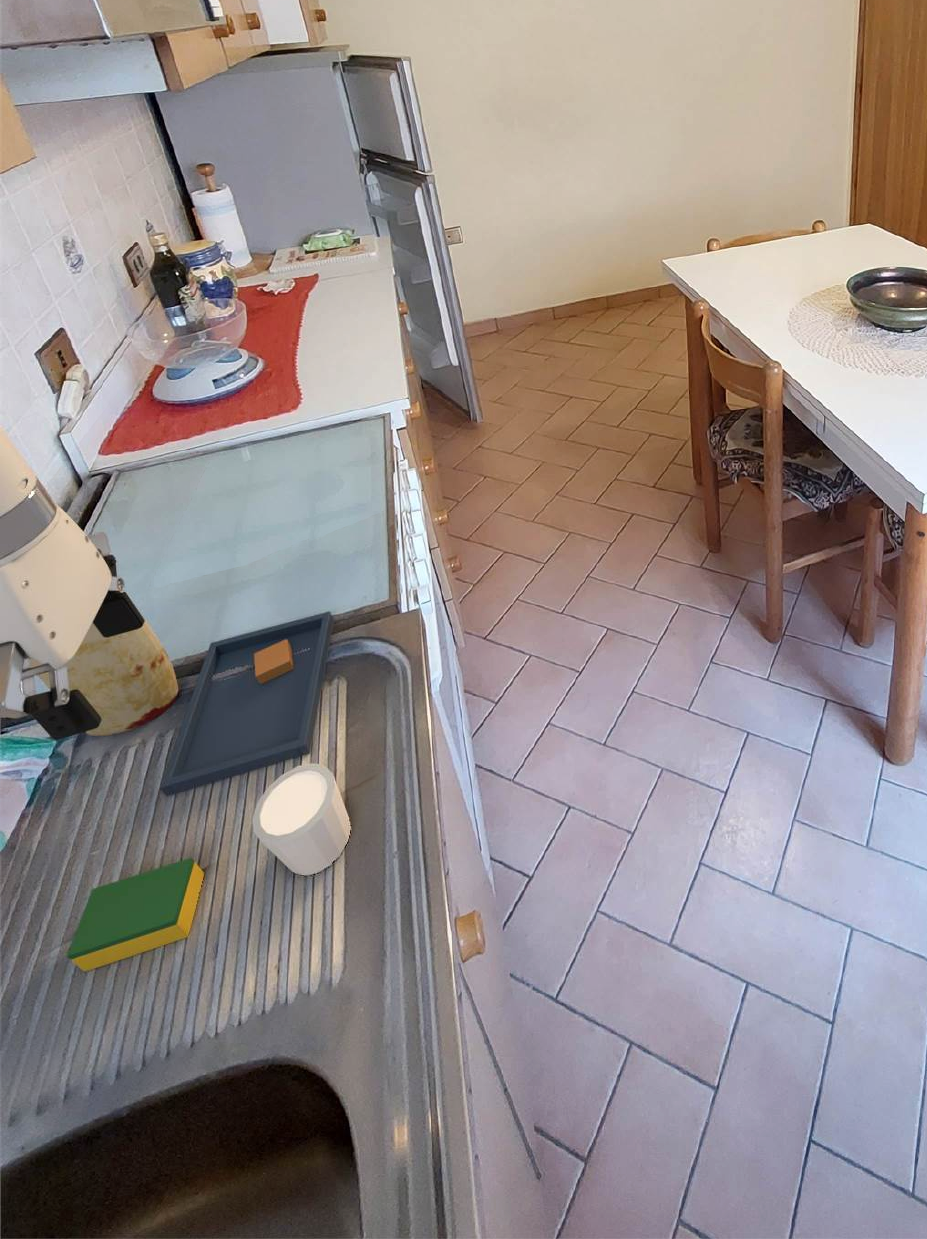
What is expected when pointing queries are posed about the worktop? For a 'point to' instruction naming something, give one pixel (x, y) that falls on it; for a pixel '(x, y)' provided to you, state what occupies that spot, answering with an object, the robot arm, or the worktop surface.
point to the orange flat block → (273, 661)
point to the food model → (122, 678)
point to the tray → (250, 707)
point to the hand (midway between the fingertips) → (104, 676)
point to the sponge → (137, 914)
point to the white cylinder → (303, 819)
